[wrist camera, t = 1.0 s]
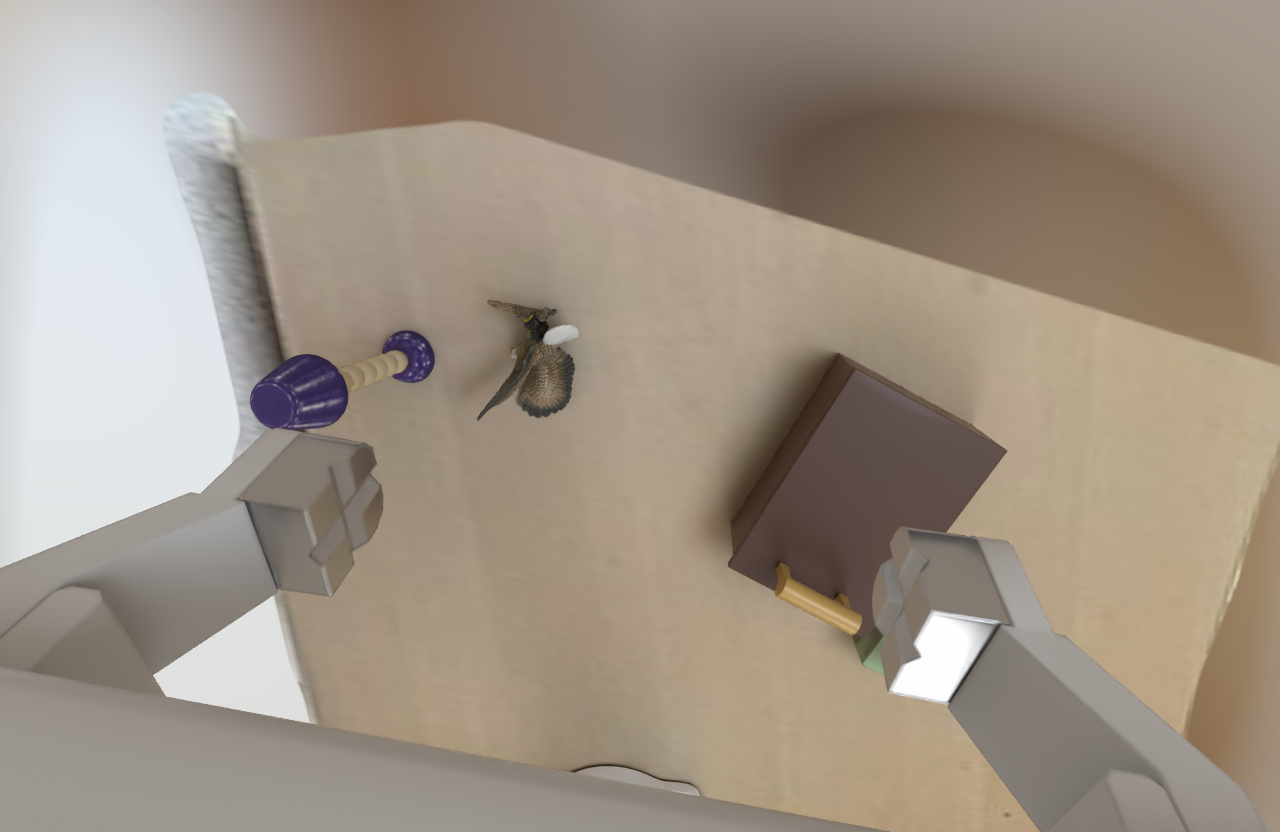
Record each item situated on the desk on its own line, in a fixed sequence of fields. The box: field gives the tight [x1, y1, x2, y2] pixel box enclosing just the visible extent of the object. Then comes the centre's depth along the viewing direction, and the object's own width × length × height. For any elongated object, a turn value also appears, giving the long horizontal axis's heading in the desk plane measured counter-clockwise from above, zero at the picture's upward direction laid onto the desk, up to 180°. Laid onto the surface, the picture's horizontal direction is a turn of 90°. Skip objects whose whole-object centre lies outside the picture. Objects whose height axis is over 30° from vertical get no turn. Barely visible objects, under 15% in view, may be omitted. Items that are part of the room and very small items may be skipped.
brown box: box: [731, 353, 1000, 554], centre depth 49 cm, size 16×12×5 cm
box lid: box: [728, 367, 1007, 638], centre depth 45 cm, size 17×12×4 cm
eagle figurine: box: [477, 300, 579, 421], centre depth 49 cm, size 8×7×9 cm
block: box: [852, 627, 886, 675], centre depth 53 cm, size 4×4×4 cm
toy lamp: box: [250, 331, 434, 430], centre depth 44 cm, size 5×5×17 cm
